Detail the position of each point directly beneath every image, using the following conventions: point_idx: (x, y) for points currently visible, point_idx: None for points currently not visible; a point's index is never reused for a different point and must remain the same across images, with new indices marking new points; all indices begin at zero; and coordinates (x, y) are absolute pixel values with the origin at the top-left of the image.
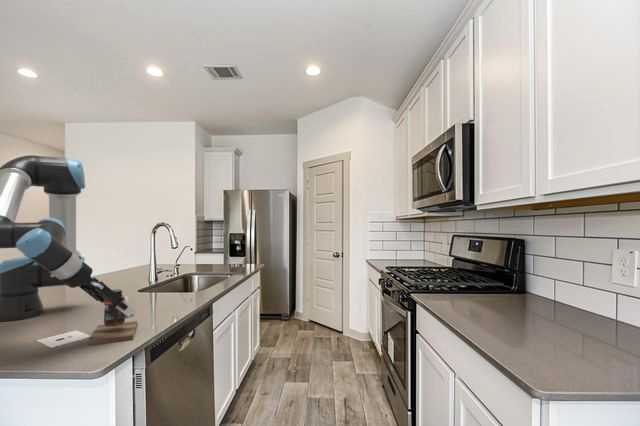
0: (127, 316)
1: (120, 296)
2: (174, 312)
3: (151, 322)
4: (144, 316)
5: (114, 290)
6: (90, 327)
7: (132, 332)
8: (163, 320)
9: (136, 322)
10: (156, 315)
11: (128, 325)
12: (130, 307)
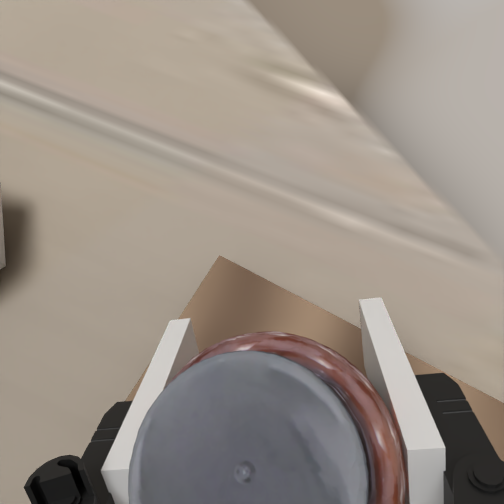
0: (366, 369)
1: (353, 418)
2: (176, 46)
3: (246, 191)
4: (98, 171)
5: (231, 479)
6: (4, 480)
7: (471, 394)
8: (268, 135)
9: (248, 272)
10: (141, 123)
11: None
12: (394, 333)
